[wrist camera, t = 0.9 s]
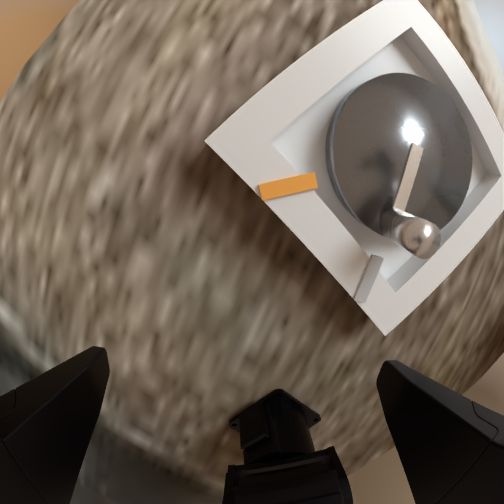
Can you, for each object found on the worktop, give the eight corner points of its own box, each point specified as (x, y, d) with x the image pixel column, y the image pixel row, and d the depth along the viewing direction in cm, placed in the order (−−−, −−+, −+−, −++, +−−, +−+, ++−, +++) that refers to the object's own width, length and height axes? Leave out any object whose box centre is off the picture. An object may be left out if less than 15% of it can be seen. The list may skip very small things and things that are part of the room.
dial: (350, 51, 16) (390, 22, 11) (470, 120, 18) (522, 120, 13) (303, 207, 19) (330, 229, 14) (432, 251, 21) (478, 279, 16)
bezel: (501, 176, 21) (525, 182, 18) (370, 316, 24) (386, 337, 21) (387, 1, 16) (407, -14, 13) (207, 142, 19) (203, 140, 16)
